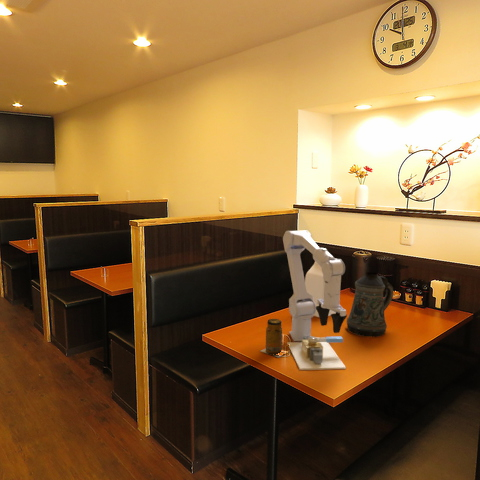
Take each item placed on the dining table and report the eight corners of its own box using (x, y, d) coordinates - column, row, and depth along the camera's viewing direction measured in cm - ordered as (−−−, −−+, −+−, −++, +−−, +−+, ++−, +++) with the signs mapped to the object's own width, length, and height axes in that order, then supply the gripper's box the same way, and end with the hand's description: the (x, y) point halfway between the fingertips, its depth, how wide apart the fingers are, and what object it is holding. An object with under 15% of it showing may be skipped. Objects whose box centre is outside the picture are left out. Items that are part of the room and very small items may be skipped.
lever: (309, 343, 148) (309, 339, 148) (307, 340, 151) (307, 336, 151) (343, 342, 149) (343, 339, 149) (340, 339, 152) (340, 335, 152)
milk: (302, 311, 200) (304, 259, 196) (316, 307, 208) (318, 256, 204) (322, 318, 191) (324, 263, 187) (336, 313, 199) (339, 260, 195)
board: (287, 343, 161) (287, 342, 161) (327, 343, 162) (327, 341, 162) (299, 370, 139) (299, 368, 139) (345, 368, 141) (345, 367, 141)
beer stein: (339, 330, 176) (342, 273, 173) (360, 319, 190) (363, 266, 187) (375, 341, 165) (380, 280, 161) (395, 328, 179) (399, 272, 176)
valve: (298, 344, 159) (299, 333, 158) (314, 344, 159) (314, 332, 159) (309, 364, 142) (310, 351, 141) (326, 364, 143) (327, 351, 142)
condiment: (272, 345, 159) (273, 316, 157) (290, 352, 153) (291, 321, 152) (260, 351, 154) (260, 320, 152) (278, 358, 148) (279, 326, 146)
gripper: (311, 288, 153) (309, 323, 155) (335, 299, 140) (333, 337, 142) (326, 286, 155) (325, 321, 158) (351, 297, 142) (349, 334, 145)
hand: (329, 328), depth 150 cm, fingers open, 7 cm apart
